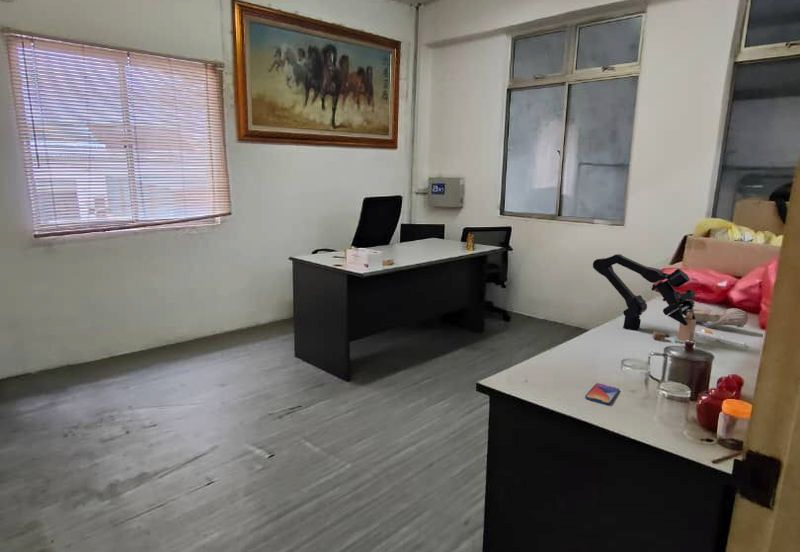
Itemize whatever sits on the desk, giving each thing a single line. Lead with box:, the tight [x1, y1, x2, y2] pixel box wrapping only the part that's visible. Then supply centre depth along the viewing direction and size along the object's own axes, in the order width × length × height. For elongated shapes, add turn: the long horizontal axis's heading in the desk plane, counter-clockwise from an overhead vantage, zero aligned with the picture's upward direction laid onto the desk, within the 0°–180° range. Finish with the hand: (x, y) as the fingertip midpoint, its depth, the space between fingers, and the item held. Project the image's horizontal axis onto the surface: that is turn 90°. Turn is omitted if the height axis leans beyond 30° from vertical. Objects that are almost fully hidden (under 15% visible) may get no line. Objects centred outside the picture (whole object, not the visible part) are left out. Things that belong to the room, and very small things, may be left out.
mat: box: [673, 335, 697, 346], centre depth 214 cm, size 8×8×1 cm
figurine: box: [682, 306, 749, 329], centre depth 241 cm, size 12×12×30 cm
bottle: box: [677, 309, 697, 341], centre depth 213 cm, size 5×5×14 cm
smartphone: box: [584, 383, 620, 406], centre depth 154 cm, size 7×15×1 cm, turn 145°
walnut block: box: [652, 331, 666, 342], centre depth 216 cm, size 4×4×3 cm
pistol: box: [694, 329, 747, 348], centre depth 221 cm, size 2×20×11 cm
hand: (691, 323), depth 212 cm, fingers open, 9 cm apart
